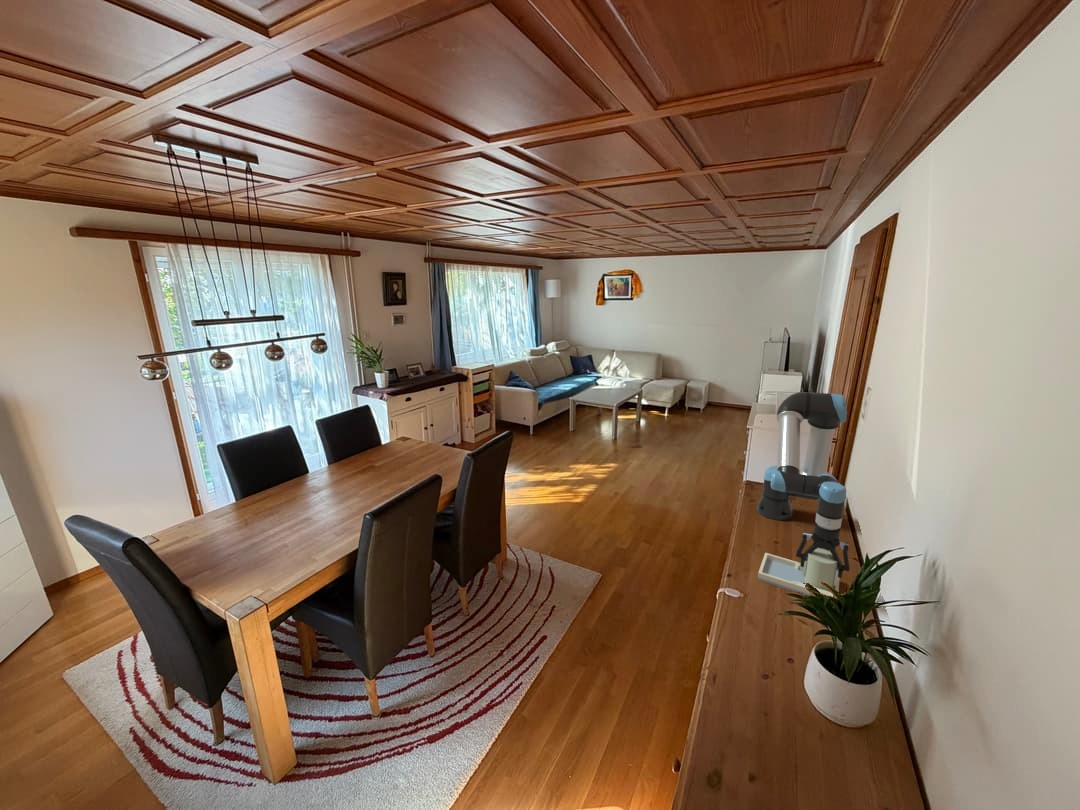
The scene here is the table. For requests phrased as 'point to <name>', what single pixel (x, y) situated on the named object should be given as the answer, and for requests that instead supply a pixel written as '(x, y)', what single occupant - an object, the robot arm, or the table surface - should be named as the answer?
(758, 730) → the table surface
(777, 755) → the table surface
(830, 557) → the can
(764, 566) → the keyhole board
